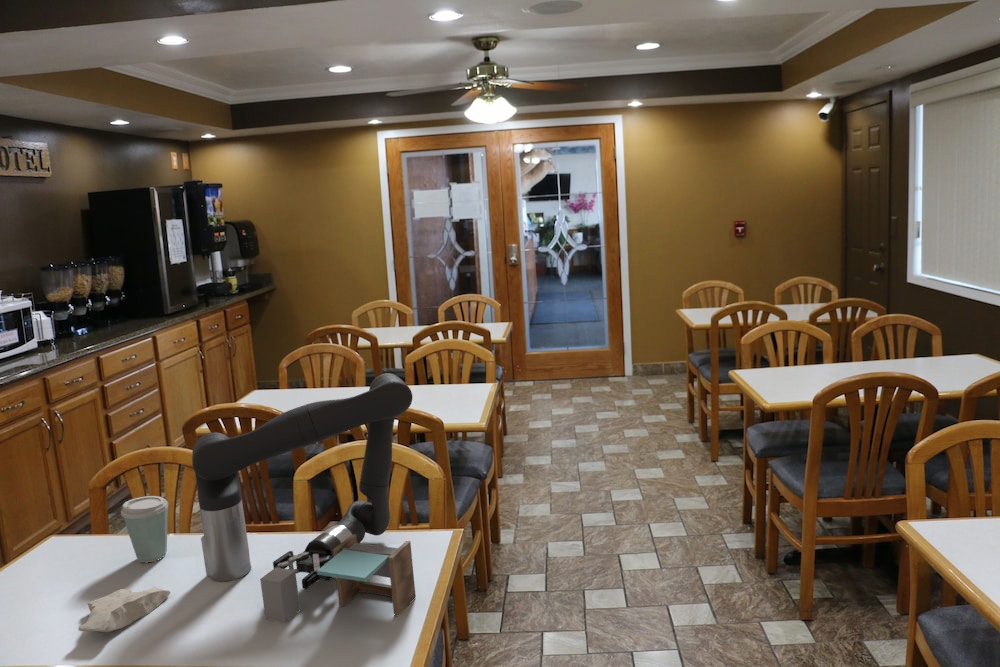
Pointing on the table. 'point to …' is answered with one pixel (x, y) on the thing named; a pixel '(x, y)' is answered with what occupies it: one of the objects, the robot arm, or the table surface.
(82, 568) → the table surface
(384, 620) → the table surface
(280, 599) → the granite pillar
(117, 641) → the table surface
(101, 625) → the rock
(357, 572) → the trapdoor flap
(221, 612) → the table surface
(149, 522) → the disposable coffee cup
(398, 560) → the flap stand
